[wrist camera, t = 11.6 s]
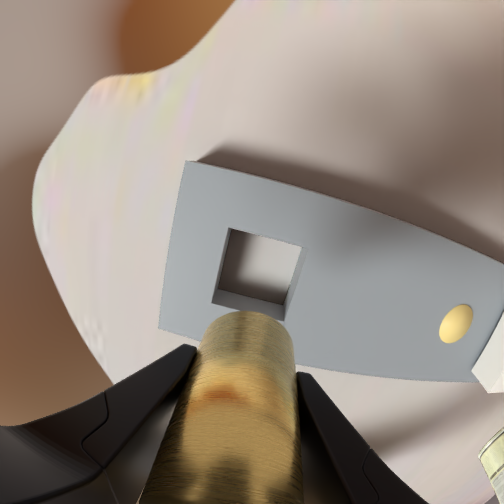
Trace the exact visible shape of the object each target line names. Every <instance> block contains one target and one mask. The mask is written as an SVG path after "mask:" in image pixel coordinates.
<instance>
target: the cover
mask: <svg viewBox="0 0 504 504" xmlns="http://www.w3.org/2000/svg"><path fill="white" fill-rule="evenodd" d="M471 371H472V373H473V374H474V375H475V376H476V378H477V379H478V380H479V382H480V383H481V384H482V386H483V387H484V389H485V390H486V391H487V393H498V392H504V313H503V315H502V317H501V319H500V321H499V323H498V325H497V327H496V329H495V331H494V333H493V334H492V336H491V338H490V340H489V342H488V344H487V345H486V347H485V349H484V351H483V352H482V354H481V356H480V357H479V359H478V361H477V362H476V364H475V365H474V367H473V369H472V370H471Z"/></svg>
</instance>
